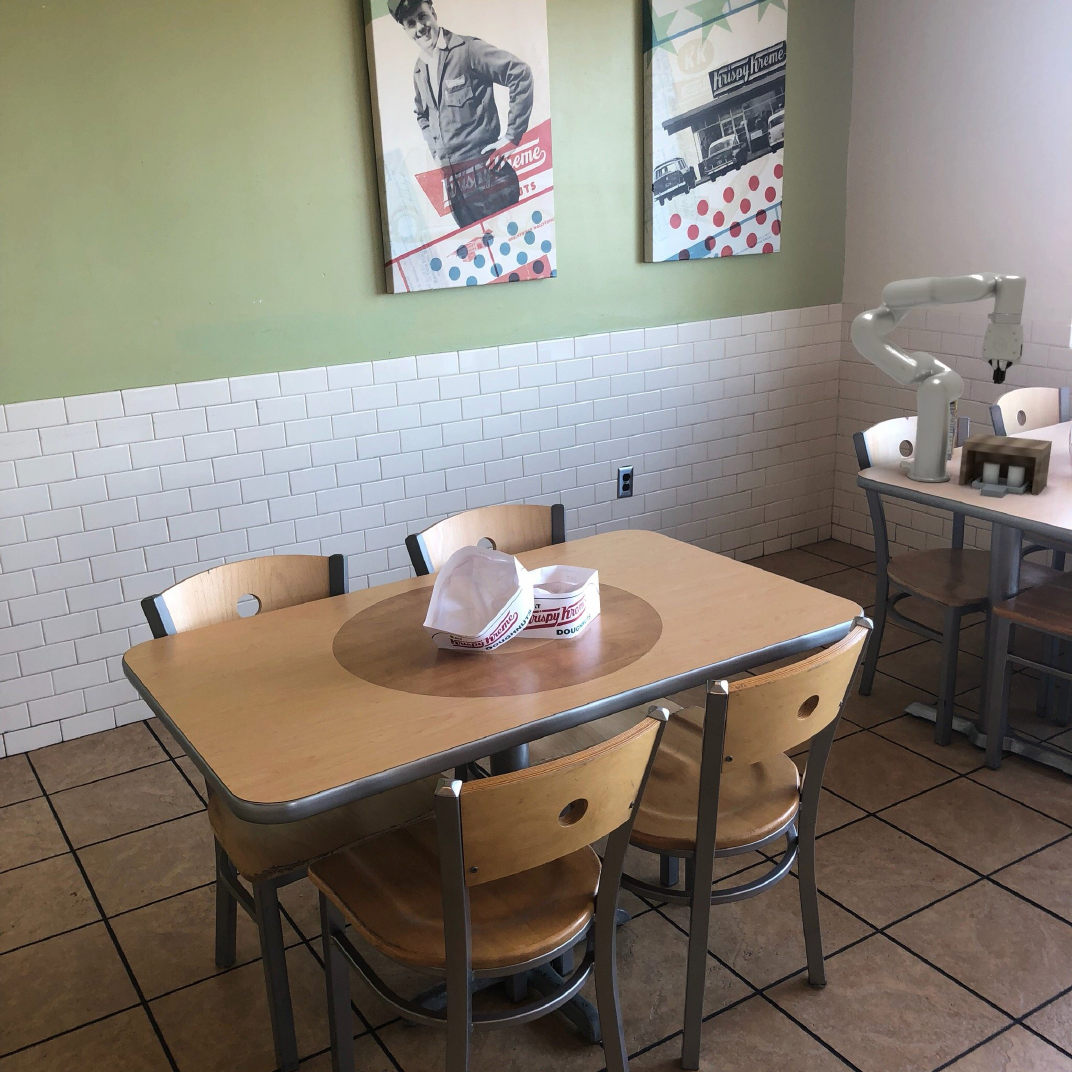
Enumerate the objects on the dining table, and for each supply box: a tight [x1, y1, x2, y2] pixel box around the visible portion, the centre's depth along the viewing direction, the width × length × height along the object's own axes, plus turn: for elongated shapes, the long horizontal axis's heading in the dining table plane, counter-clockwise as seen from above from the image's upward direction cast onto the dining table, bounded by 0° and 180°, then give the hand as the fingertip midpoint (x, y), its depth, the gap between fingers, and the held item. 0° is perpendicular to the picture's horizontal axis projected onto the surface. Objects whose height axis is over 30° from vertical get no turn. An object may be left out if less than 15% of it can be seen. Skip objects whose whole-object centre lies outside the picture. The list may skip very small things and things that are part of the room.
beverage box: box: [947, 398, 959, 461], centre depth 349 cm, size 7×11×22 cm, turn 156°
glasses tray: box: [971, 462, 1031, 499], centre depth 310 cm, size 14×16×7 cm
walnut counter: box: [958, 432, 1053, 496], centre depth 314 cm, size 22×12×14 cm, turn 54°
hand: (998, 383), depth 306 cm, fingers closed
